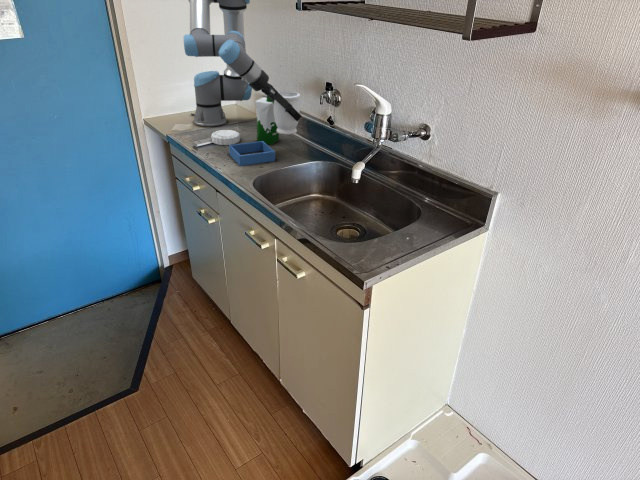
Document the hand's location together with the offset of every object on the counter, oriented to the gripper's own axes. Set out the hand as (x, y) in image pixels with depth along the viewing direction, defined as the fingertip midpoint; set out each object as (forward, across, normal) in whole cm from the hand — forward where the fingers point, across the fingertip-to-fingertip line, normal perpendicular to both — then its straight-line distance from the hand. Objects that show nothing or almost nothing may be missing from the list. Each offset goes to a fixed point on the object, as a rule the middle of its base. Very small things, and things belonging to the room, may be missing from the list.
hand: (293, 114), depth 189 cm
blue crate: (-2, 0, -24) cm, 24 cm away
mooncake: (-4, -24, -27) cm, 36 cm away
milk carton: (+8, -16, -15) cm, 23 cm away
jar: (+3, 0, -7) cm, 7 cm away
